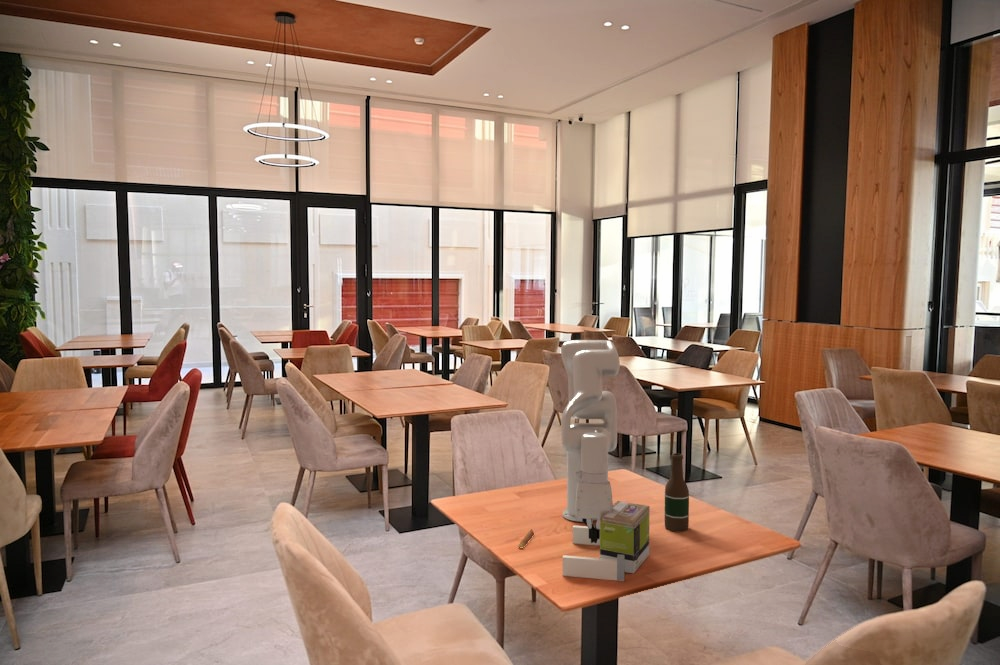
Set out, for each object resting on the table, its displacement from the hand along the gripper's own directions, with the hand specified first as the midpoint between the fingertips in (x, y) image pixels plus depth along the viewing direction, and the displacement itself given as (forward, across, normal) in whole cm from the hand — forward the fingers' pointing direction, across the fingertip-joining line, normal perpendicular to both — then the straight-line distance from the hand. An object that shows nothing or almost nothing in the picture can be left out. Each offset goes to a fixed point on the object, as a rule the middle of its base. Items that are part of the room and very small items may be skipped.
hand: (594, 541), depth 189 cm
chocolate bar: (+6, -22, +10) cm, 25 cm away
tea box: (+6, +8, +1) cm, 10 cm away
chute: (+6, +1, +1) cm, 6 cm away
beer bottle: (+5, +23, +32) cm, 40 cm away
